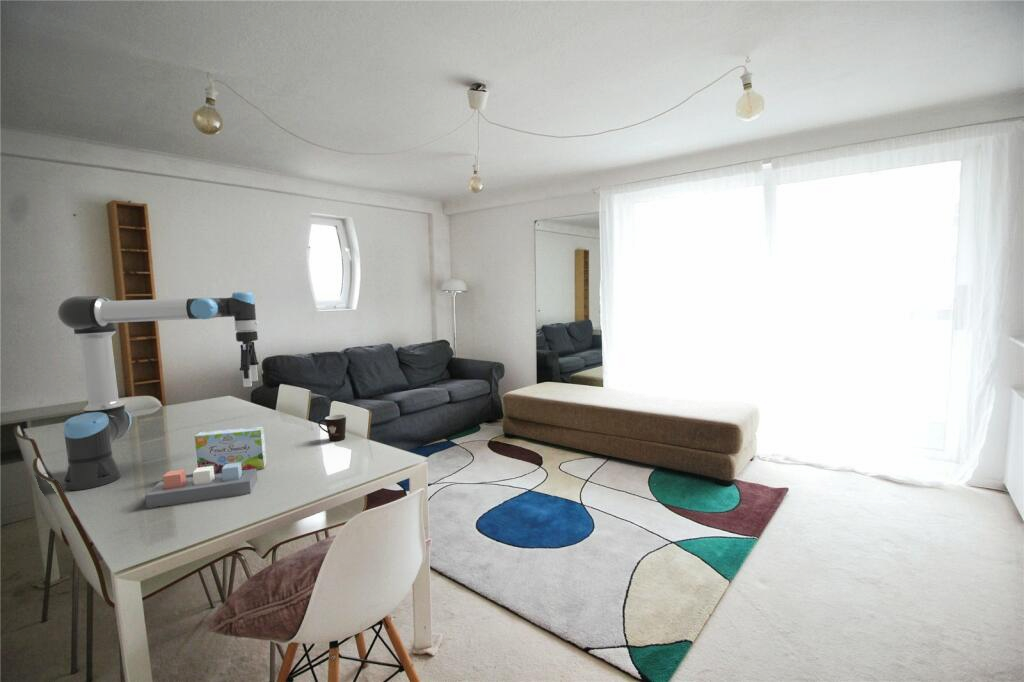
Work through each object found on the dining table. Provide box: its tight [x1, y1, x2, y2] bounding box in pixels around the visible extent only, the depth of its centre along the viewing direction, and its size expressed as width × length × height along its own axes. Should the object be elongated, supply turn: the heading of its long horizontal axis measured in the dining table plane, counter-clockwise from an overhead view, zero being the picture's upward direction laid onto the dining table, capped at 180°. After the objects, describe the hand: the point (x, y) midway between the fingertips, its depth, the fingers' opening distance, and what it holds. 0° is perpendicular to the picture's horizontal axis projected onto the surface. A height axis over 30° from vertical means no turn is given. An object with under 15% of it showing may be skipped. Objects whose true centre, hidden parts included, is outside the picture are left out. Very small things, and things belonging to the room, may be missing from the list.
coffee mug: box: [318, 414, 347, 443], centre depth 210 cm, size 12×9×10 cm
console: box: [145, 469, 258, 509], centre depth 155 cm, size 28×12×4 cm, turn 109°
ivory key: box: [192, 466, 215, 485], centre depth 155 cm, size 5×5×4 cm
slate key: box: [222, 462, 242, 481], centre depth 157 cm, size 5×5×4 cm
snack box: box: [194, 426, 268, 474], centre depth 175 cm, size 21×6×15 cm, turn 105°
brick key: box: [162, 468, 187, 489], centre depth 152 cm, size 5×5×4 cm
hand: (251, 383), depth 194 cm, fingers open, 13 cm apart
